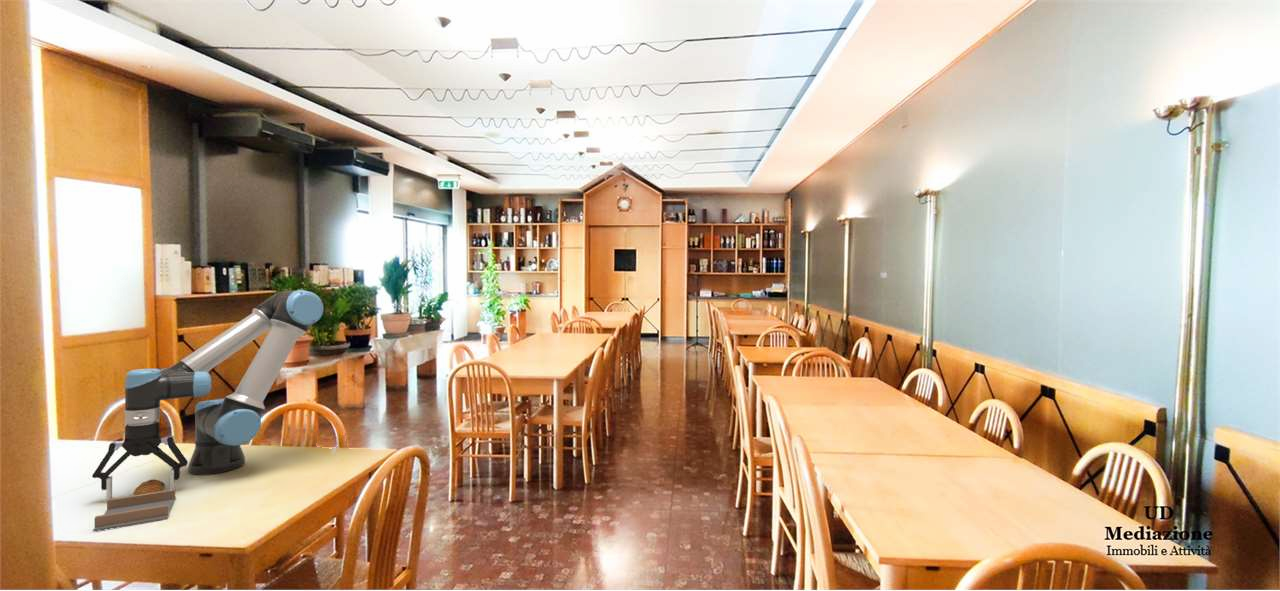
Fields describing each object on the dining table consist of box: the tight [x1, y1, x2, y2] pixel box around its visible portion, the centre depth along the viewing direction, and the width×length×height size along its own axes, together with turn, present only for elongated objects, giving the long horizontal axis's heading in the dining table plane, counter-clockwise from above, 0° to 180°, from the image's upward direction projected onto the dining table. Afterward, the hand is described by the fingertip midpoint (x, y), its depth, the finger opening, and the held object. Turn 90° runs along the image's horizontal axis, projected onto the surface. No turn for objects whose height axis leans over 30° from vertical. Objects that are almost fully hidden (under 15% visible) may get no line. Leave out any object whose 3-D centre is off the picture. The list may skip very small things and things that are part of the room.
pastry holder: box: [92, 489, 177, 532], centre depth 147 cm, size 14×17×3 cm
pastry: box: [132, 478, 166, 495], centre depth 160 cm, size 9×7×4 cm
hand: (141, 496), depth 159 cm, fingers open, 13 cm apart
